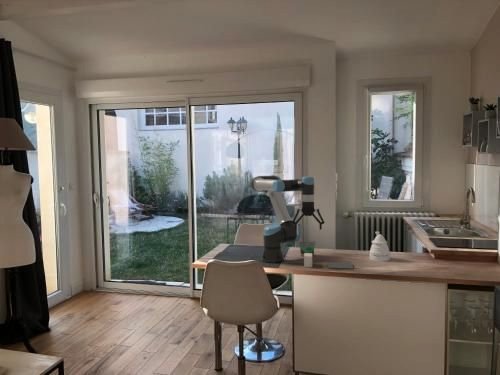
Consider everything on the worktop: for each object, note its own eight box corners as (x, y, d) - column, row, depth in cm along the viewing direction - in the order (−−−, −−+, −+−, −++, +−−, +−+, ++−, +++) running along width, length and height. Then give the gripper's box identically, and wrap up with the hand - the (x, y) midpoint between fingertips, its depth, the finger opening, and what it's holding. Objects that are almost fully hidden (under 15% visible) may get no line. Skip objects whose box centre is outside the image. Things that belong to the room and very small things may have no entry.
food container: (303, 258, 287) (303, 243, 286) (298, 256, 292) (298, 241, 292) (318, 256, 291) (318, 242, 291) (314, 254, 297) (314, 240, 296)
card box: (304, 267, 263) (304, 256, 263) (304, 263, 272) (304, 252, 271) (312, 267, 262) (312, 256, 262) (312, 263, 271) (312, 253, 271)
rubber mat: (328, 268, 259) (328, 267, 259) (327, 263, 272) (327, 262, 272) (353, 269, 256) (353, 268, 256) (351, 263, 269) (351, 262, 269)
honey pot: (365, 258, 283) (365, 232, 282) (377, 255, 290) (377, 230, 289) (381, 262, 272) (382, 234, 271) (393, 259, 280) (394, 232, 279)
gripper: (287, 201, 262) (288, 235, 264) (328, 201, 259) (328, 235, 260) (288, 200, 270) (288, 233, 271) (328, 200, 266) (328, 233, 267)
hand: (308, 234), depth 266 cm, fingers open, 13 cm apart
